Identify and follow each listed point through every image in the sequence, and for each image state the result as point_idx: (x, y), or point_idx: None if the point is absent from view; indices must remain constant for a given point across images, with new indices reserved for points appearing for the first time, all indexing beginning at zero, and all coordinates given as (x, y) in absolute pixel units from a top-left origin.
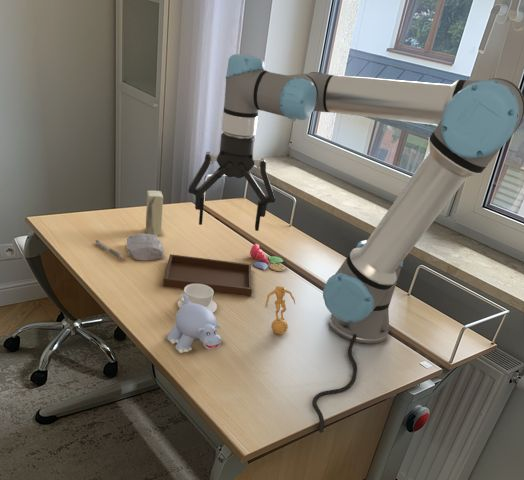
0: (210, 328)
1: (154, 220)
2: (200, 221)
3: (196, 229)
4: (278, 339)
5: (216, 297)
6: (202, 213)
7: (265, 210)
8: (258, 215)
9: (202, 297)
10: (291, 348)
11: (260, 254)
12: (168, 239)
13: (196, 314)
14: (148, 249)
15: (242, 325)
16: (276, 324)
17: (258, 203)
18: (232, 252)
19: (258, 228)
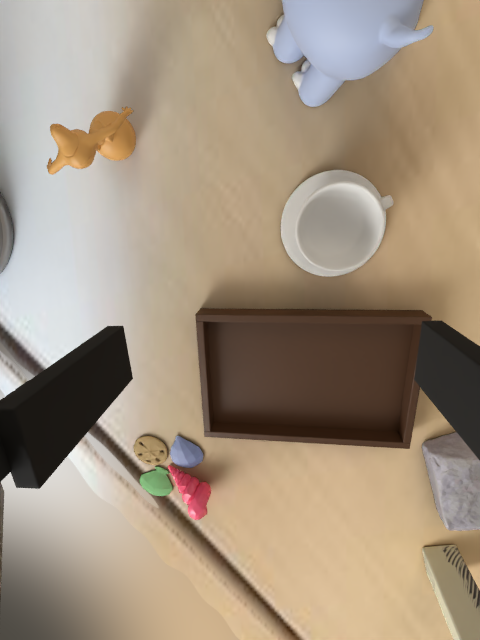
0: None
1: (459, 585)
2: (442, 327)
3: (336, 583)
4: (120, 109)
5: (283, 286)
6: (460, 350)
7: (3, 398)
8: (66, 363)
9: (328, 186)
10: (85, 70)
11: (186, 485)
12: (403, 533)
13: None
14: (473, 453)
15: (212, 157)
16: (115, 117)
17: (32, 443)
18: (252, 499)
19: (102, 330)
